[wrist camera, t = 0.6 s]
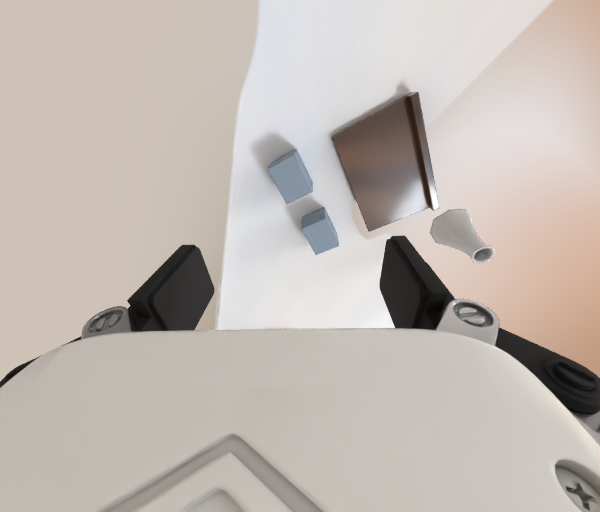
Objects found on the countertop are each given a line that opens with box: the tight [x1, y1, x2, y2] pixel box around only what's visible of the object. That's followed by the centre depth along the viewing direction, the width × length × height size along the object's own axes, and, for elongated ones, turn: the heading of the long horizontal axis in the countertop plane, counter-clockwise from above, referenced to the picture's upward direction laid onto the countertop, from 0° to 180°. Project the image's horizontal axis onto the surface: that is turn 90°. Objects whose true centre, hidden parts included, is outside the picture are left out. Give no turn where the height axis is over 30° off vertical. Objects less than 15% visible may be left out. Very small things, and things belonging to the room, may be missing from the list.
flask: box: [430, 209, 495, 263], centre depth 38 cm, size 7×7×10 cm
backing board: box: [332, 92, 439, 231], centre depth 36 cm, size 18×12×2 cm, turn 27°
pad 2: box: [301, 207, 339, 255], centre depth 41 cm, size 6×5×5 cm
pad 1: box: [268, 149, 313, 204], centre depth 36 cm, size 6×5×5 cm
